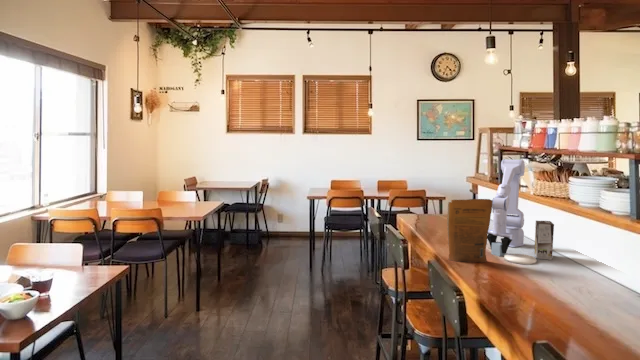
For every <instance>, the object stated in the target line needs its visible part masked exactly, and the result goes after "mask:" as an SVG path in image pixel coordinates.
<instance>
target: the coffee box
mask: <svg viewBox="0 0 640 360" xmlns="http://www.w3.org/2000/svg"><path fill="white" fill-rule="evenodd" d="M534 227H535V229H534V231H535V232H534V251H533V252H534V256H535V258H536V259H538V260H539V259H540V260H548V261H549V260H550V261H552V260H553V250H554V249H553V247H554V246H553V245H554V231H555V229H554V228H555V224H554V222H552V221H550V220H535V226H534Z"/></svg>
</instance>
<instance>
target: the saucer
mask: <svg viewBox="0 0 640 360" xmlns="http://www.w3.org/2000/svg"><path fill="white" fill-rule="evenodd" d="M503 259H504V261H506V262H507V263H511V264H512V263H513V264H518V265H535V264H537V258H536V256H535V257H534V256H532V255H529V254H524V253H523V254H522V253H506V255H504V256H503Z"/></svg>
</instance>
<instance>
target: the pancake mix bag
mask: <svg viewBox="0 0 640 360" xmlns="http://www.w3.org/2000/svg"><path fill="white" fill-rule="evenodd" d="M492 200H493V199H490V198H469V199H451V200H450V201H448V203H447V217H446V218H447V219H446V224H447V228H446V229H447V238H448V240H447V241H448V244H447V245H448V252H449V254H448V260H449V261H453V262H456V263H457V262H459V263H462V262H463V263H485V262H487V261H488V260H487V255H486V253H487V251H486V250H487V244H488V239H487V235H488V234H487V233H488V229H489V228H490V225H491V216H492V213H493V212H492V203H493V201H492ZM489 230H490V229H489Z"/></svg>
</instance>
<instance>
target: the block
mask: <svg viewBox="0 0 640 360" xmlns="http://www.w3.org/2000/svg"><path fill="white" fill-rule="evenodd" d="M490 250H491V252H490V254H491V255H493V256H497V257H504V255H506V254H507V252H506V253H502V242H501V241H496V242H493V243H492V248H491V247H490Z"/></svg>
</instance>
